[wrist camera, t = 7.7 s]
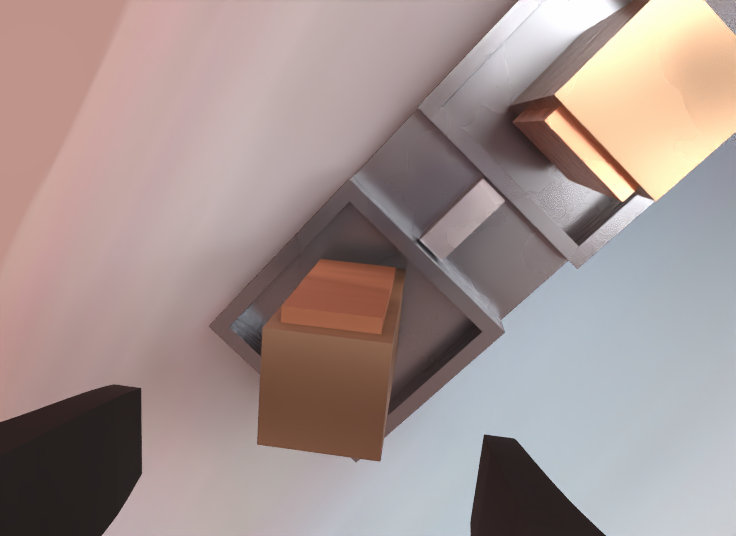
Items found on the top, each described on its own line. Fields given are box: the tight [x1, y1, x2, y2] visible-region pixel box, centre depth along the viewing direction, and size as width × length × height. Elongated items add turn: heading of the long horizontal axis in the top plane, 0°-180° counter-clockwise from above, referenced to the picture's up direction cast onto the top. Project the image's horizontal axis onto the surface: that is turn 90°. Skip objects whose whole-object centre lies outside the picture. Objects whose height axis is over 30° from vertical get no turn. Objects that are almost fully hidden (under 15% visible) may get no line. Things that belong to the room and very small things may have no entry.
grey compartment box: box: [209, 0, 736, 462], centre depth 16 cm, size 7×17×8 cm, turn 136°
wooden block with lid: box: [257, 259, 406, 461], centre depth 17 cm, size 3×3×7 cm
